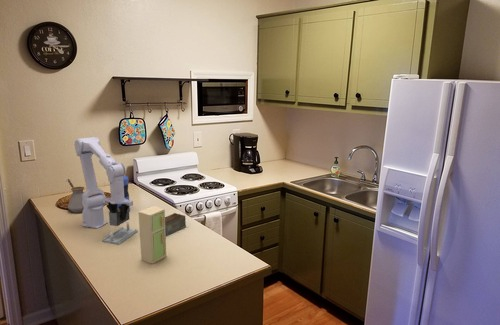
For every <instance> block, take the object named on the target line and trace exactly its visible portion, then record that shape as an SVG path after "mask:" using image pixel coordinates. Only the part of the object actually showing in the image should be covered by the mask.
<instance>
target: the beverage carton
mask: <svg viewBox="0 0 500 325" xmlns="http://www.w3.org/2000/svg"><path fill="white" fill-rule="evenodd" d="M186 223H187V222H186V215H184V214H180V213H176V212H174V213H172V214H169V215H168V216H165V232H166V237H168V236H170V235H172V234H174V233H176V232H178V231H180V230H182V229H183V228H186V227H187V225H186Z"/></svg>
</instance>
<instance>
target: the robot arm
mask: <svg viewBox="0 0 500 325" xmlns="http://www.w3.org/2000/svg"><path fill="white" fill-rule="evenodd" d="M73 145H74V150H75V153H76V156H77V157H79V160H80V164H81V169H82V173H83V179H84V183H85V187H86V190H85V191H83V192H84V193H83V195H82V204H83V207H84V209H83V212H81V213H82V215H81V216H82V225H81V226H82V227H86V228H87V227H88V228H93V229H99V228H101V227H103V226H105V225H106V224H108V223H109V221H107V220H105V217H104V207H105V205H106V208H107V209H108V211H109V212H111V211H113V210H115V209H117V205H118V204H121V206H119V207H118V208H119V210H120V213H121V220H124V219H125V218H126V213H127V210H128V208H129V206H130V207H133V205H134V201H133V200H131V199H129V200H128V199H125V198H124V183H123V176H125V175H126V167H125V166H124V164H123V163H120V162H117V161H116V160H115V158H114V157H113V156H112V155H111V154H109V153H106V152H105V150H104V149H103V148H102V147H101V141H100V139H99V137H97V136H91V137H81V138H76V139H75V142H74V144H73ZM93 155H95V156H96V157H97V158H98V159H99V160H98V162H99V164H100V165H101V166H102V167H103V168H104V169H105V173H106V176H107V179H108V182H109V190H110V197H106V195H105V192H104V190H103V189H101V188H99V187H98V182H97V178H96V173H95V169H94V163H93V158H92V157H93ZM106 203H107V204H106Z"/></svg>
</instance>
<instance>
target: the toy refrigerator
mask: <svg viewBox="0 0 500 325" xmlns="http://www.w3.org/2000/svg"><path fill="white" fill-rule="evenodd" d="M165 217H166V211H165V209H164V208H162V207H160V206H155V205H152V206H150V207H148V208H147V207H146V208H144V209H142V210H139V211H138V223H139V225H138V226H139V240H140V242H139V243H140V258H141V261H144V262H146V263H149V264H150V265H154V264H156V263H157V262H159V261H160V260H162V259H164V258H166V257H167V236H166V232H165Z"/></svg>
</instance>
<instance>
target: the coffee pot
mask: <svg viewBox="0 0 500 325" xmlns="http://www.w3.org/2000/svg"><path fill="white" fill-rule="evenodd" d="M65 182H67V183H68V184H69V185H70V187H71V189H70V190H71V192H72V194H71V196H70V200H69V202H68V205H67V209H68V210H69V211H70V212H72V213H74V214H75V213H77V214H80V213H82V212H83V209H84V207H83V204H82V195H83V193H84V192H85V191H84V189H85V186H74V185H73V183H72V182H71V180H70V179H69V178H67V179H66V181H65Z"/></svg>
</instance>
